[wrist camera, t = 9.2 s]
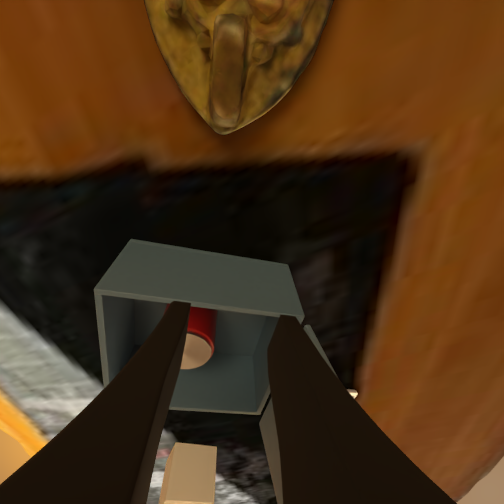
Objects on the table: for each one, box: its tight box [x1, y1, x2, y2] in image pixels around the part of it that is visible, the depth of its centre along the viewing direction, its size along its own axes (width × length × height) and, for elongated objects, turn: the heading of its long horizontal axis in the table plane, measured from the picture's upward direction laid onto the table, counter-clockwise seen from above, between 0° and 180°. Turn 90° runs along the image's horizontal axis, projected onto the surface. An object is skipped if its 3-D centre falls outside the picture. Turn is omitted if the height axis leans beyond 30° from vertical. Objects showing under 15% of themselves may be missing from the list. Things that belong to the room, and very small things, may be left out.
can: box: [163, 303, 217, 369], centre depth 21 cm, size 4×4×4 cm
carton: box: [94, 239, 304, 415], centre depth 21 cm, size 12×12×6 cm
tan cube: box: [159, 442, 217, 504], centre depth 35 cm, size 6×6×6 cm
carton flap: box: [259, 325, 338, 504], centre depth 16 cm, size 6×12×1 cm
